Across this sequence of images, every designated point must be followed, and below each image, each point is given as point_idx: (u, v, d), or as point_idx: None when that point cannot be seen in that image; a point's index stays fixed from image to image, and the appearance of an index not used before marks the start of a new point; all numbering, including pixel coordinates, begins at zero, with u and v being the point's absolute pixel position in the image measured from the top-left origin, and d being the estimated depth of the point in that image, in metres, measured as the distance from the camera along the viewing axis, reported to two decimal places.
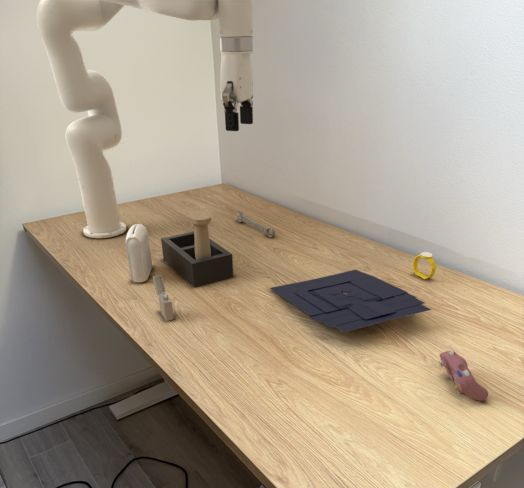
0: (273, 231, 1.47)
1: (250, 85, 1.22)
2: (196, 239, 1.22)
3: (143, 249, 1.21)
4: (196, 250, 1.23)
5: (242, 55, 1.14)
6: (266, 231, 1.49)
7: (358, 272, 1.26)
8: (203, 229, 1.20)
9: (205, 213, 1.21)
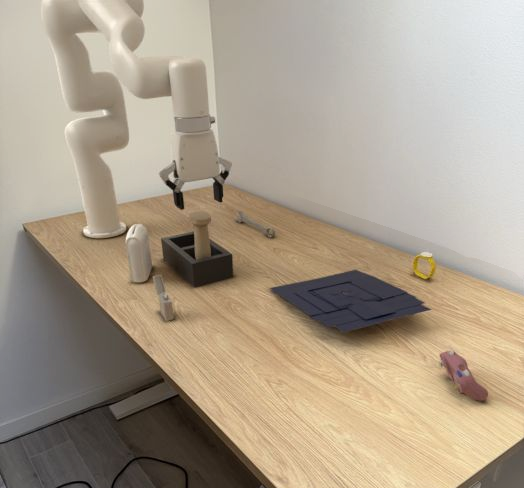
0: (273, 231, 1.47)
1: (209, 165, 1.13)
2: (196, 239, 1.22)
3: (143, 249, 1.21)
4: (196, 250, 1.23)
5: (186, 136, 1.07)
6: (266, 231, 1.49)
7: (358, 272, 1.26)
8: (203, 229, 1.20)
9: (205, 213, 1.21)
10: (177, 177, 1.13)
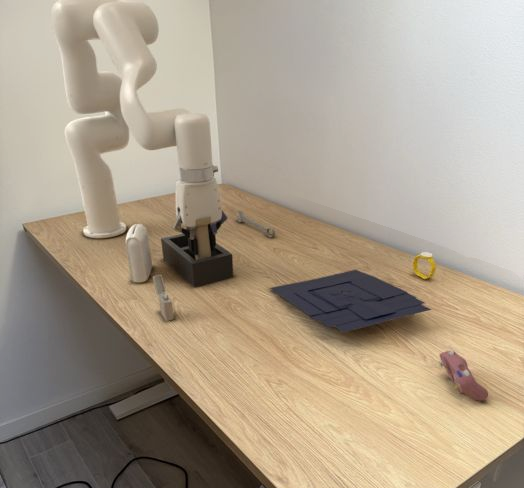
0: (273, 231, 1.47)
1: (211, 211, 1.18)
2: None
3: (143, 249, 1.21)
4: None
5: (191, 186, 1.13)
6: (266, 231, 1.49)
7: (358, 272, 1.26)
8: (203, 229, 1.20)
9: None
10: None
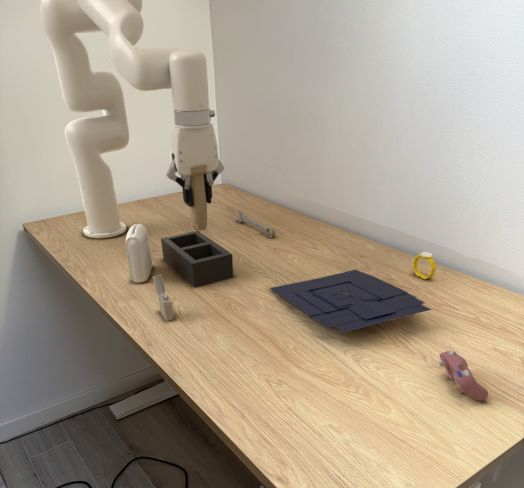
0: (273, 231, 1.47)
1: (208, 158, 1.12)
2: None
3: (143, 249, 1.21)
4: None
5: (186, 129, 1.07)
6: (266, 231, 1.49)
7: (358, 272, 1.26)
8: (199, 179, 1.14)
9: None
10: None
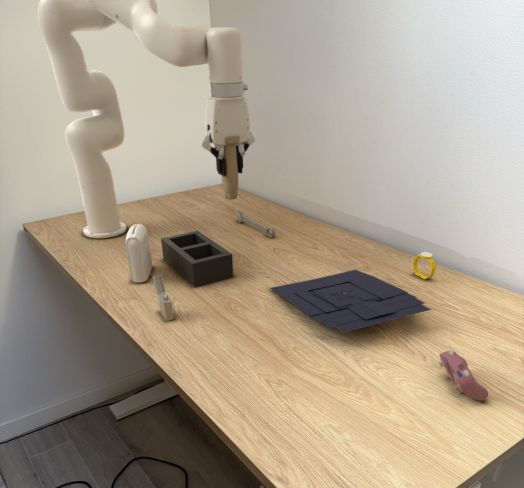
0: (273, 231, 1.47)
1: (240, 130, 1.20)
2: None
3: (143, 249, 1.21)
4: None
5: (221, 101, 1.15)
6: (266, 231, 1.49)
7: (358, 272, 1.26)
8: (232, 149, 1.22)
9: None
10: (216, 145, 1.22)
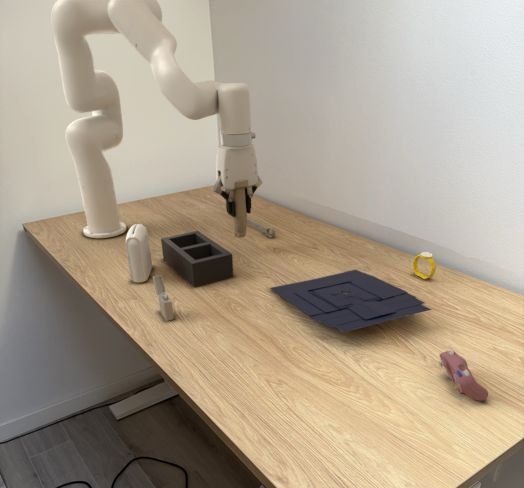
0: (273, 231, 1.47)
1: (249, 174, 1.29)
2: (234, 201, 1.32)
3: (143, 249, 1.21)
4: None
5: (231, 150, 1.23)
6: (266, 231, 1.49)
7: (358, 272, 1.26)
8: (241, 192, 1.30)
9: None
10: (226, 188, 1.30)
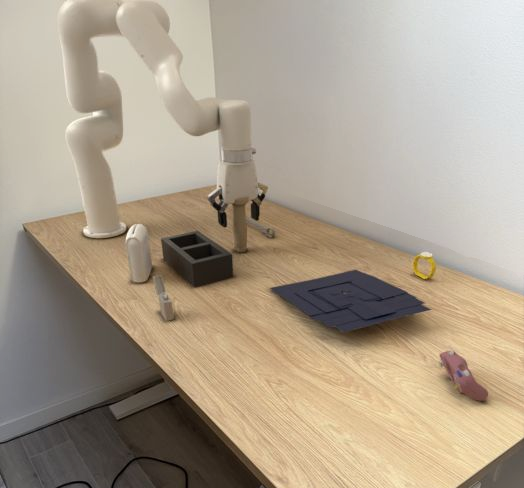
0: (273, 231, 1.47)
1: (249, 189, 1.31)
2: (234, 218, 1.34)
3: (143, 249, 1.21)
4: (234, 228, 1.36)
5: (232, 165, 1.25)
6: (266, 231, 1.49)
7: (358, 272, 1.26)
8: (241, 209, 1.33)
9: None
10: (222, 199, 1.31)
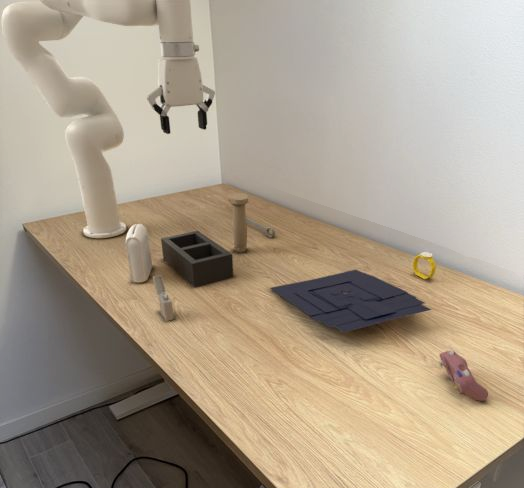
0: (273, 231, 1.47)
1: (193, 91, 1.22)
2: (234, 218, 1.34)
3: (143, 249, 1.21)
4: (234, 228, 1.36)
5: (172, 61, 1.16)
6: (266, 231, 1.49)
7: (358, 272, 1.26)
8: (241, 209, 1.33)
9: (243, 194, 1.33)
10: (164, 102, 1.22)
